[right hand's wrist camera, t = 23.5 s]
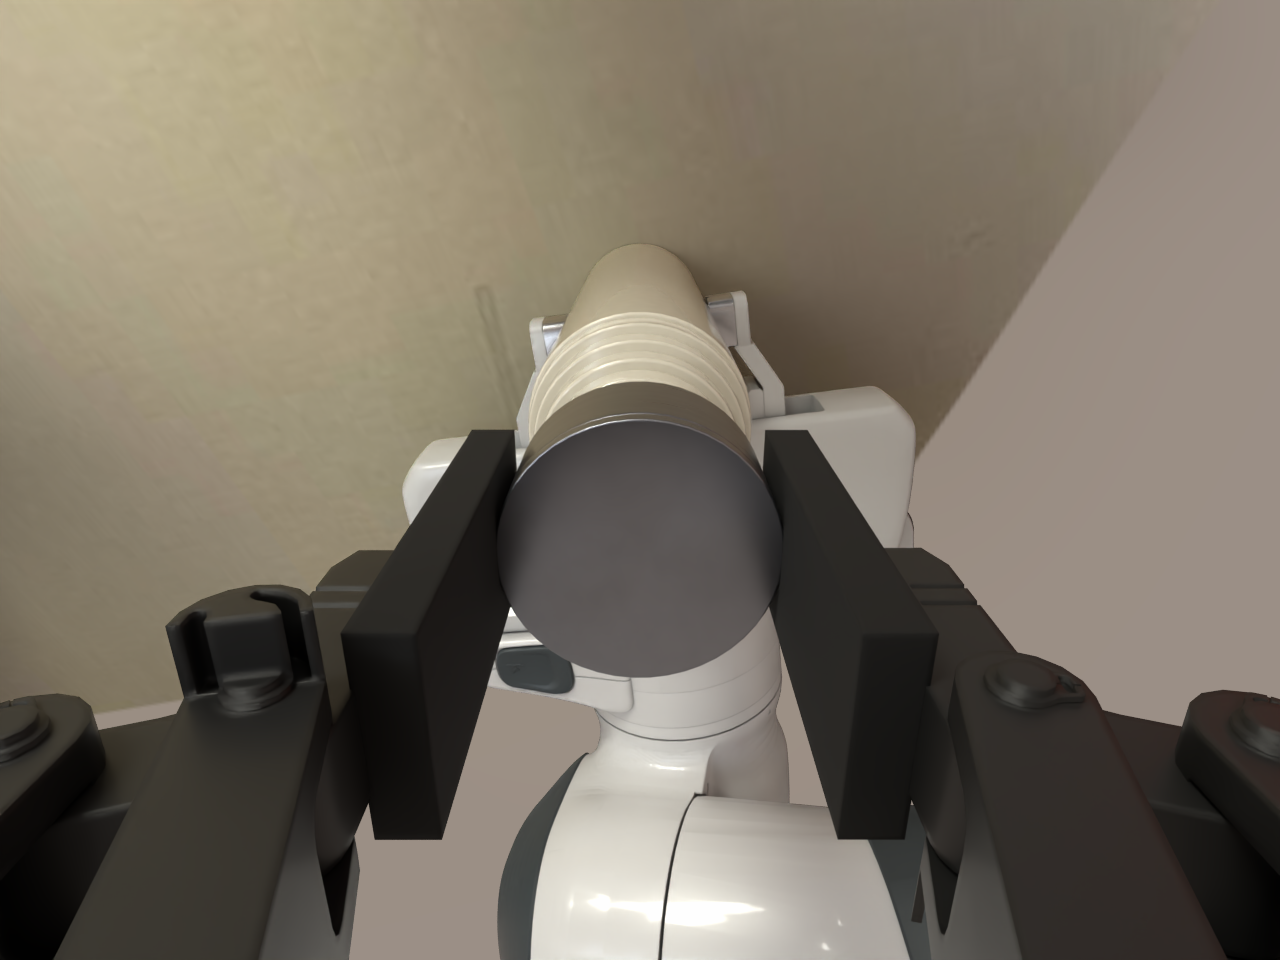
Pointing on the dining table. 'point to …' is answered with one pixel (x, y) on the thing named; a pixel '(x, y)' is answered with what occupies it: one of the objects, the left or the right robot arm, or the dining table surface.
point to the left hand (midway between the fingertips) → (635, 306)
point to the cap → (639, 532)
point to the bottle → (640, 337)
